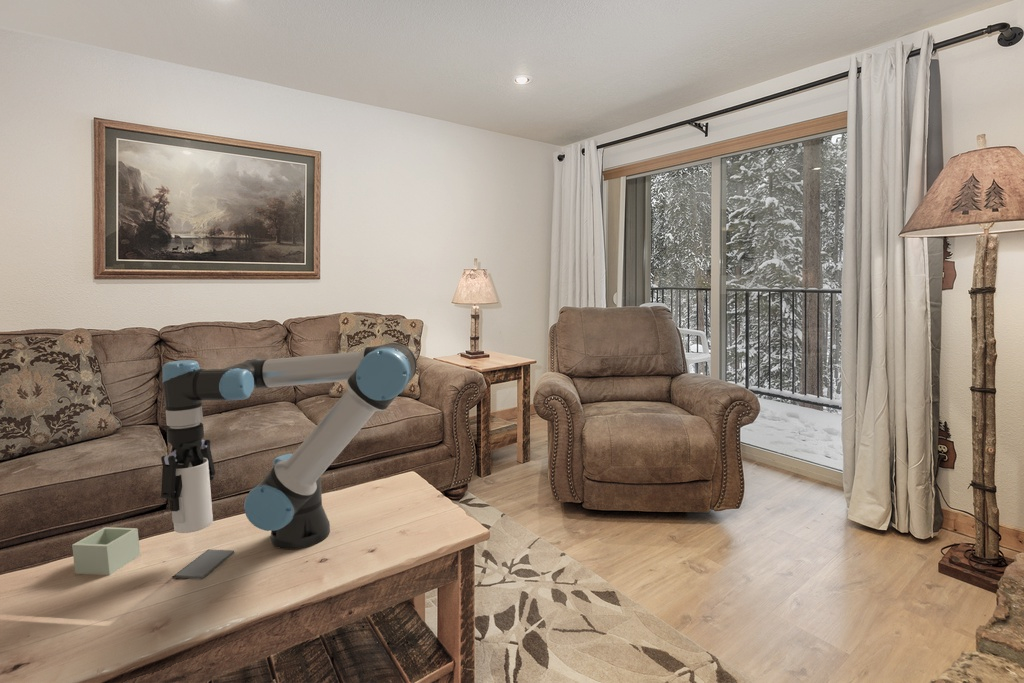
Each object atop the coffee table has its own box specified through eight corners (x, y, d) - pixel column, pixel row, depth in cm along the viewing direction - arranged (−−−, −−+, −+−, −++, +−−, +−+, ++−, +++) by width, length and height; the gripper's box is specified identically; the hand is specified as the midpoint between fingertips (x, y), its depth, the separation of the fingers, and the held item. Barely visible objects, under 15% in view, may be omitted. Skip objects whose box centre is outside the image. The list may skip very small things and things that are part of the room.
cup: (194, 534, 123) (189, 469, 121) (165, 531, 125) (159, 467, 123) (220, 519, 131) (215, 458, 129) (193, 516, 133) (188, 456, 131)
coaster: (234, 552, 135) (234, 550, 135) (202, 578, 123) (202, 576, 123) (191, 550, 136) (191, 548, 136) (155, 576, 124) (155, 574, 124)
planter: (140, 558, 132) (137, 528, 131) (110, 578, 123) (106, 546, 123) (108, 556, 133) (105, 527, 132) (75, 576, 124) (72, 544, 123)
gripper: (200, 413, 136) (206, 496, 139) (135, 437, 115) (144, 534, 118) (227, 413, 135) (233, 497, 138) (166, 437, 114) (174, 535, 117)
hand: (192, 514), depth 128 cm, fingers closed on cup, 8 cm apart
